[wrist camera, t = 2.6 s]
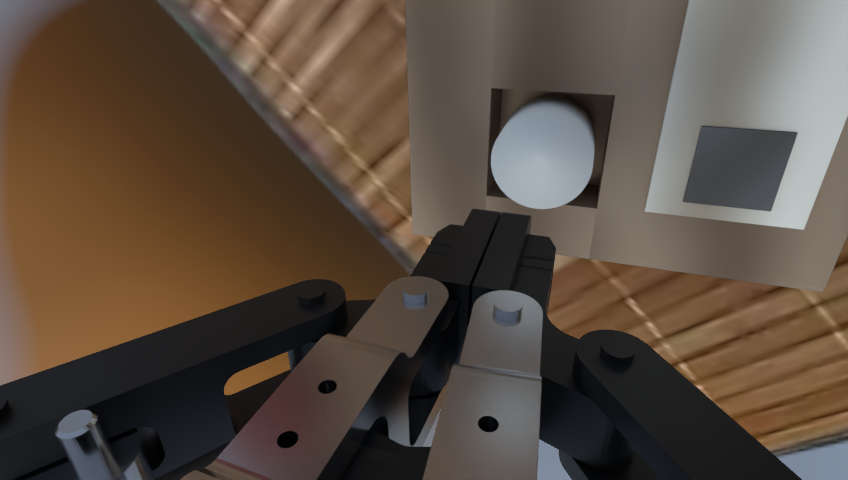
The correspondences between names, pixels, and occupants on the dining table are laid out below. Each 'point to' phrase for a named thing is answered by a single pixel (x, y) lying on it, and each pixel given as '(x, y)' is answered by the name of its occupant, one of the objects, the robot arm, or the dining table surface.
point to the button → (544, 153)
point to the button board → (647, 126)
